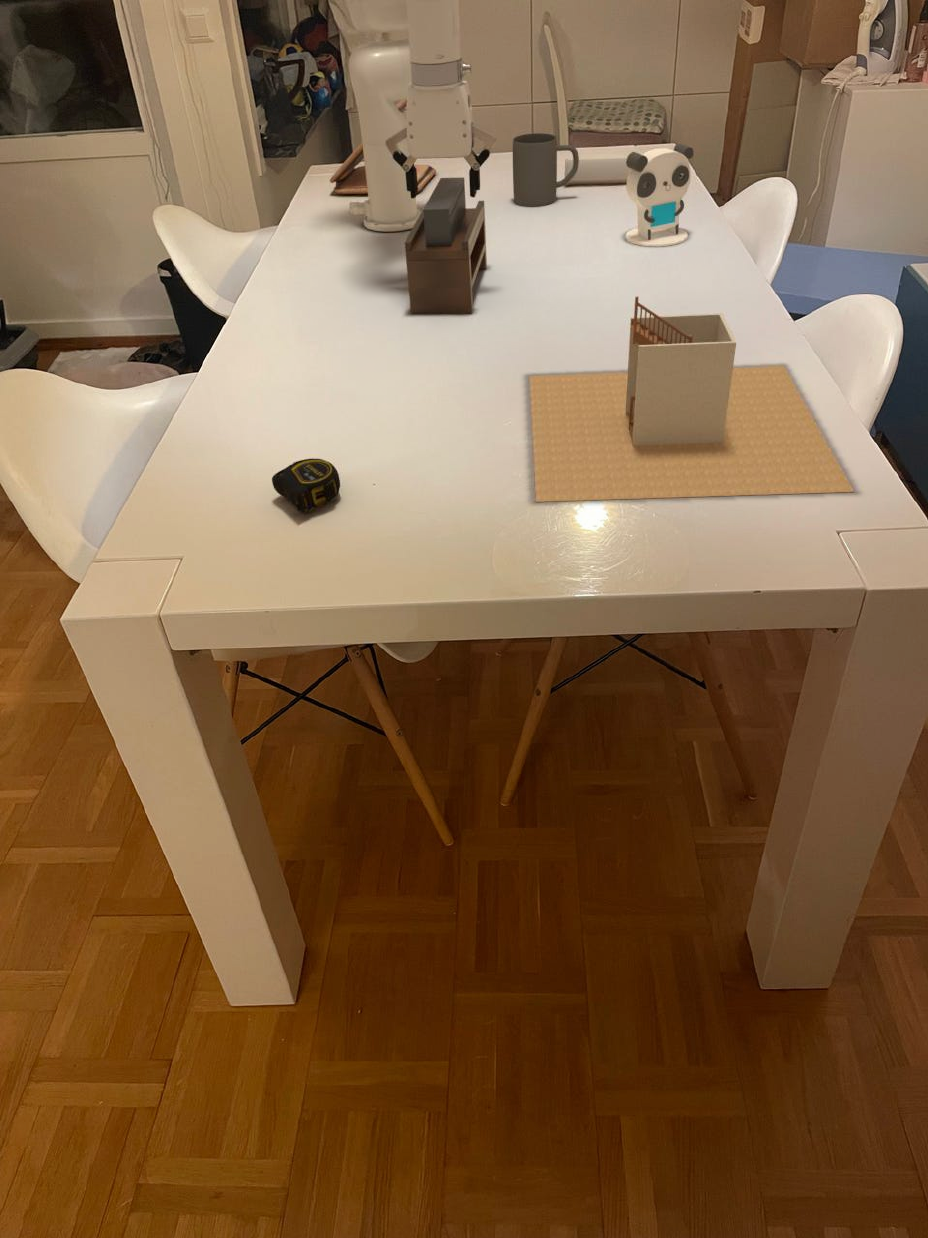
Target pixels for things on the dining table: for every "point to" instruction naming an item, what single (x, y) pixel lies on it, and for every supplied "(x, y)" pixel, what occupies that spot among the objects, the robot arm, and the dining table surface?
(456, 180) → the case
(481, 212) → the shelf
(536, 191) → the mug
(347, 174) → the case
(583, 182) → the tube
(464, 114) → the robot arm
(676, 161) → the panda standee
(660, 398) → the staircase
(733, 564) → the dining table surface
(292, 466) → the tape measure
